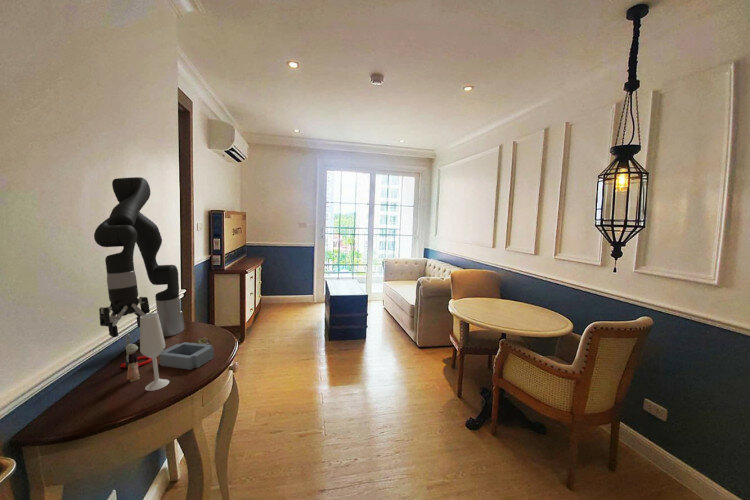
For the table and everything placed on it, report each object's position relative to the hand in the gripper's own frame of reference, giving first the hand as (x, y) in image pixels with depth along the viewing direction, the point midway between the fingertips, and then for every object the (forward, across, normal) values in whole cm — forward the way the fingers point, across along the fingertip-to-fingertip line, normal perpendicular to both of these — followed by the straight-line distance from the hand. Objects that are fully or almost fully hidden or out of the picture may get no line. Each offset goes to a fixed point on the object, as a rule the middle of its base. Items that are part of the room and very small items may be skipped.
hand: (128, 331), depth 102 cm
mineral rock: (+18, -26, +1) cm, 32 cm away
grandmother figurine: (+17, 0, 0) cm, 17 cm away
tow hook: (+17, -10, -10) cm, 23 cm away
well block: (+17, -15, +7) cm, 24 cm away
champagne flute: (+17, +1, +11) cm, 21 cm away
